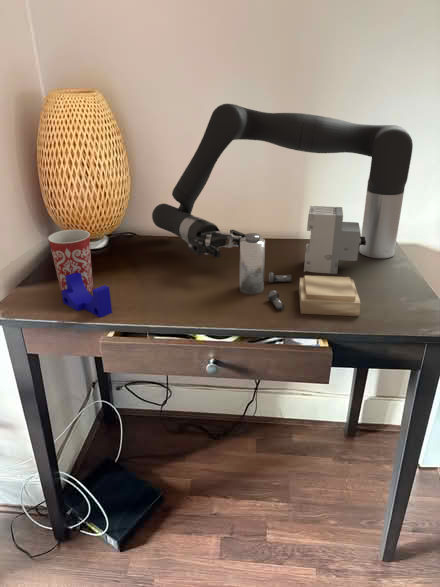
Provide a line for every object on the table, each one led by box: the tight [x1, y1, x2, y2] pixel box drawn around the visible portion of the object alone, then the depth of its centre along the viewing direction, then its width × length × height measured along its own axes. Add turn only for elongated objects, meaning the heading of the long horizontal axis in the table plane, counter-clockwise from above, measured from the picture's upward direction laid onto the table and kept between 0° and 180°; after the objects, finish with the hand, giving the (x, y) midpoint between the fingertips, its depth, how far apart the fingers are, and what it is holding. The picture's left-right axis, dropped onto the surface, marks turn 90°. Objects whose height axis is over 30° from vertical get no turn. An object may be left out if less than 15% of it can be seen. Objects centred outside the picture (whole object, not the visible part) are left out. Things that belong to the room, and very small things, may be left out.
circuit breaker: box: [303, 205, 366, 275], centre depth 119 cm, size 8×14×15 cm, turn 78°
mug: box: [47, 229, 94, 294], centre depth 110 cm, size 13×9×14 cm
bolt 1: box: [268, 272, 293, 283], centre depth 114 cm, size 5×2×2 cm, turn 93°
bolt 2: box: [267, 289, 285, 311], centre depth 103 cm, size 5×2×2 cm, turn 13°
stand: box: [298, 275, 362, 317], centre depth 104 cm, size 12×12×4 cm
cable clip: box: [60, 273, 113, 319], centre depth 102 cm, size 12×4×6 cm, turn 47°
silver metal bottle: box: [239, 232, 266, 295], centre depth 108 cm, size 6×6×13 cm
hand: (233, 250), depth 113 cm, fingers open, 8 cm apart
